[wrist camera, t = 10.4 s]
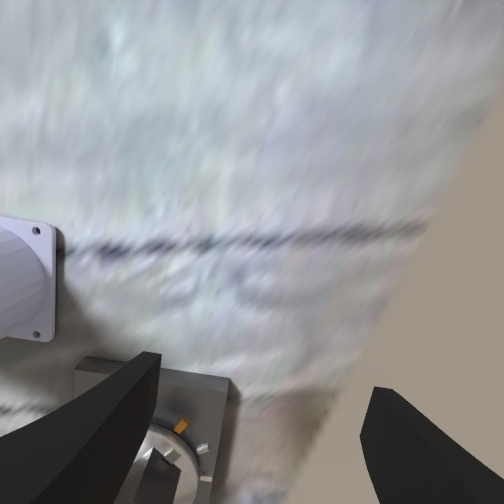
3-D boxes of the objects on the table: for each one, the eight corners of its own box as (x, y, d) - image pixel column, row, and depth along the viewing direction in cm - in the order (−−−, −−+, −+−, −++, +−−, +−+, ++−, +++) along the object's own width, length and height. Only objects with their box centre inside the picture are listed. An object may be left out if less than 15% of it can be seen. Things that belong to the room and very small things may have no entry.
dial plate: (79, 511, 26) (67, 535, 24) (85, 356, 22) (72, 371, 21) (204, 528, 26) (200, 553, 24) (229, 378, 23) (227, 394, 21)
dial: (145, 533, 24) (120, 612, 19) (59, 467, 22) (13, 537, 18) (223, 474, 22) (215, 545, 18) (136, 401, 21) (106, 459, 17)
